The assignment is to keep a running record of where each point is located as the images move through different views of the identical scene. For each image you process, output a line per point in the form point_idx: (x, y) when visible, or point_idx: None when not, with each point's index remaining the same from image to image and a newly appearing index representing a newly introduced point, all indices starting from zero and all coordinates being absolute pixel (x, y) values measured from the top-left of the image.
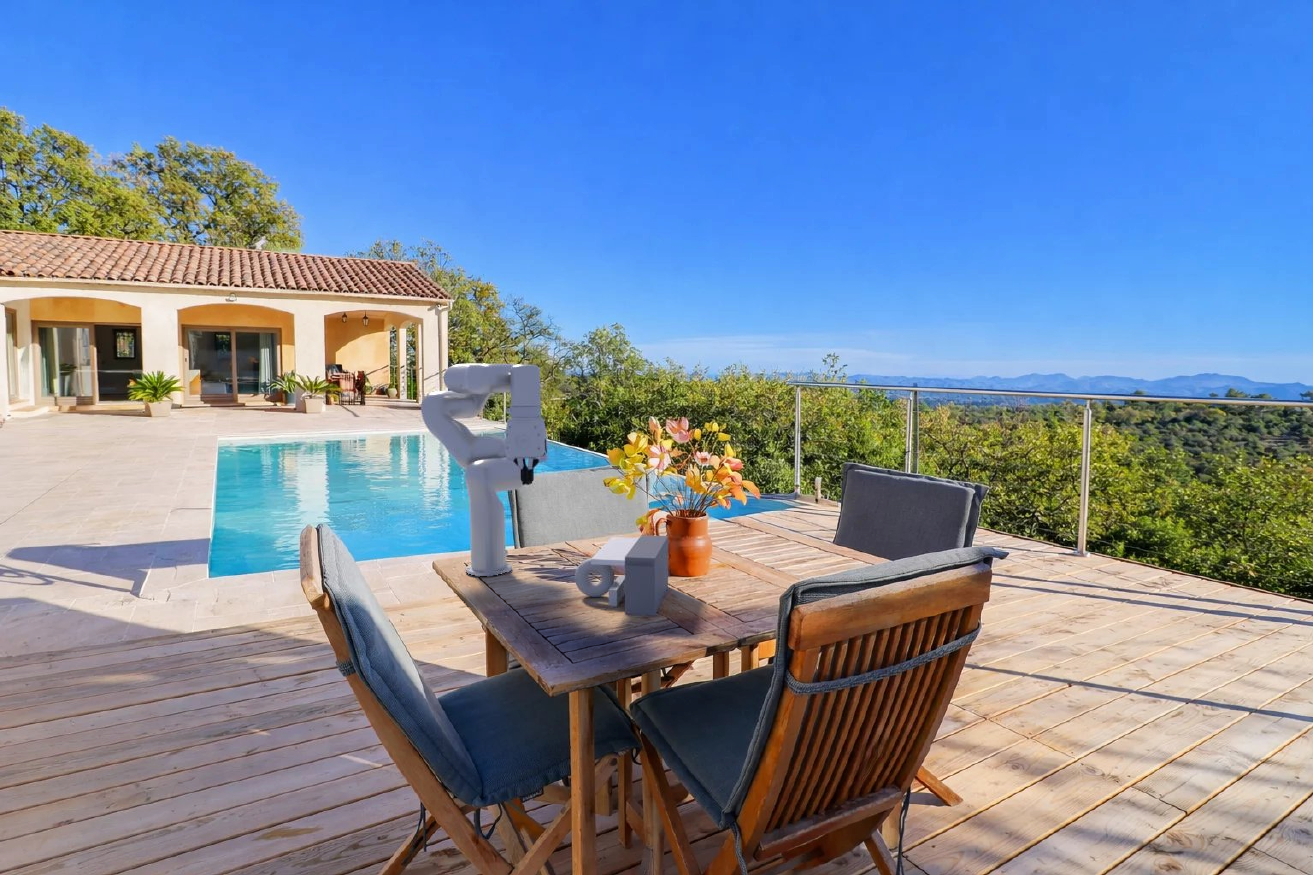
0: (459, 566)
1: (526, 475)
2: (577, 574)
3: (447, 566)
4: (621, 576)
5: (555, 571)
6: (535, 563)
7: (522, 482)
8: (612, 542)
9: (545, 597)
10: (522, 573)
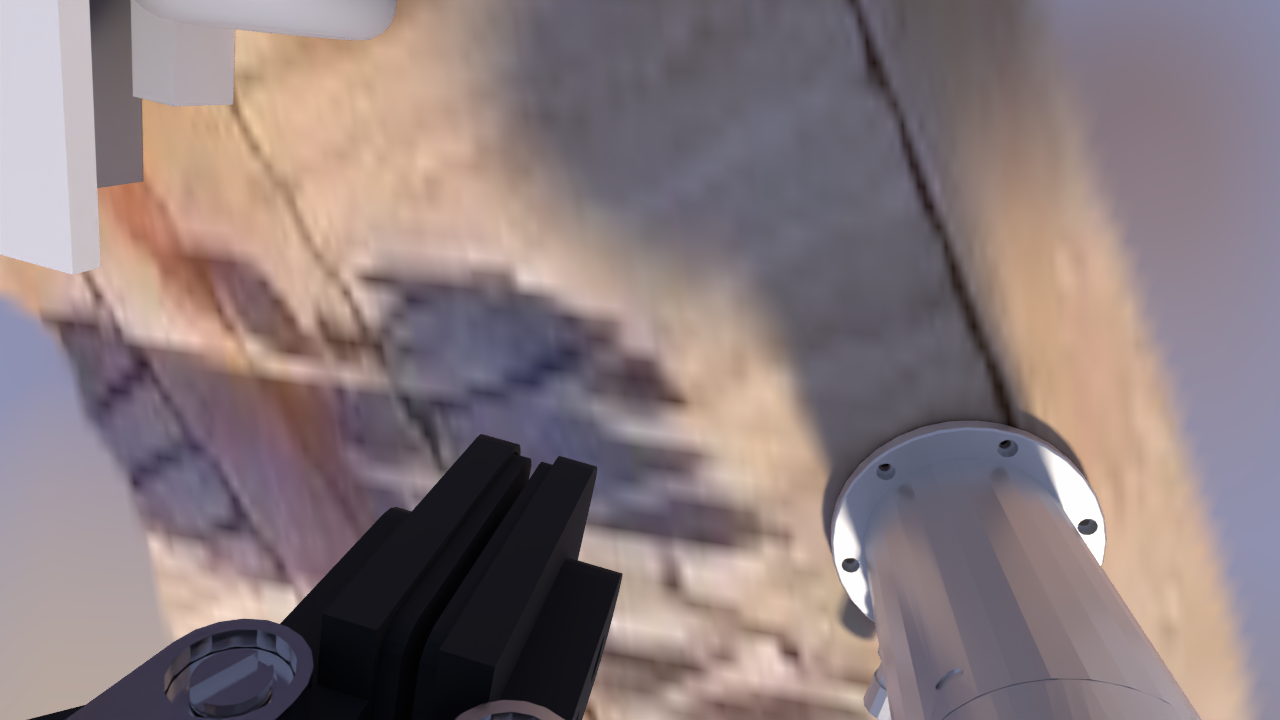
0: None
1: (440, 532)
2: None
3: (1213, 652)
4: (156, 81)
5: None
6: (709, 621)
7: (584, 475)
8: (23, 101)
9: (596, 3)
10: (764, 462)
